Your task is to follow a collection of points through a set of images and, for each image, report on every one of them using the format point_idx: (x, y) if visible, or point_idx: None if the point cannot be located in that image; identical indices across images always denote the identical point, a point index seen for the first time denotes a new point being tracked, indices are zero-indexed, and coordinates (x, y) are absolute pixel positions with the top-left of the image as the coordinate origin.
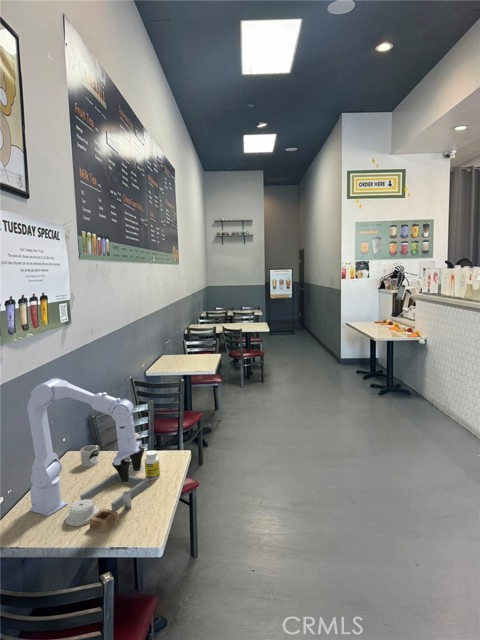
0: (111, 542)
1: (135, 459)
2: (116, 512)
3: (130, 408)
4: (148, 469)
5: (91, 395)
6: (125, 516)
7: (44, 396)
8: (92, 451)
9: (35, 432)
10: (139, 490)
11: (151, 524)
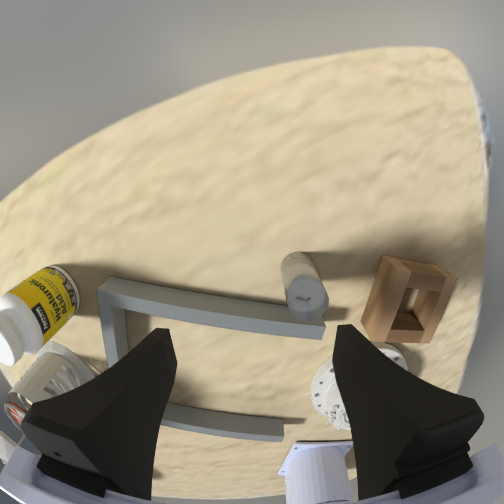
0: (476, 210)
1: (143, 416)
2: (400, 273)
3: None
4: (55, 315)
5: None
6: (350, 245)
7: None
8: None
9: None
10: (161, 290)
11: (382, 105)
